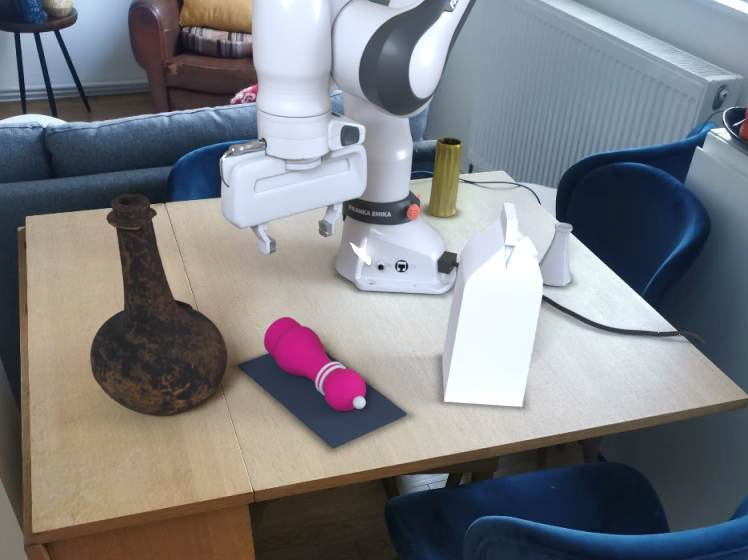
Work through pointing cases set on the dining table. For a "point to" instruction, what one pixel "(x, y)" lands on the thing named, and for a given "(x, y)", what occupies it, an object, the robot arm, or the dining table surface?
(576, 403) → the dining table surface
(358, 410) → the mat
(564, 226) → the flask
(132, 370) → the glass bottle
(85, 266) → the dining table surface
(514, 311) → the milk
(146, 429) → the dining table surface
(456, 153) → the vase
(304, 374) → the pepper mill
